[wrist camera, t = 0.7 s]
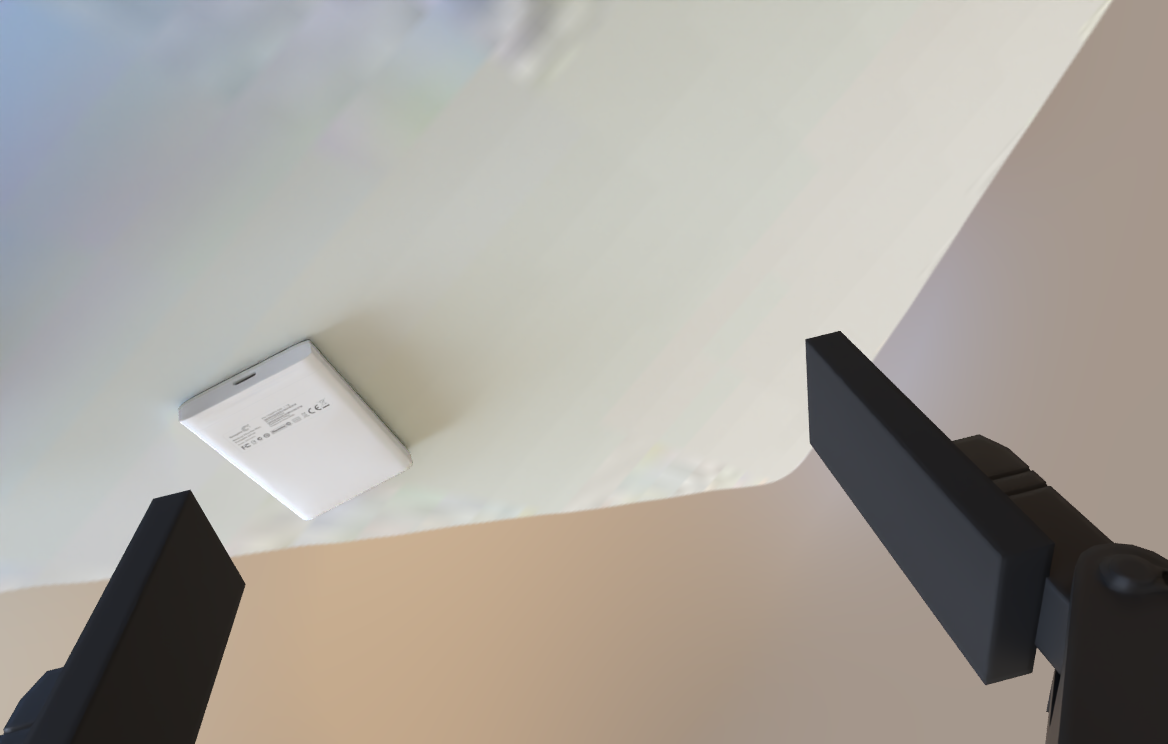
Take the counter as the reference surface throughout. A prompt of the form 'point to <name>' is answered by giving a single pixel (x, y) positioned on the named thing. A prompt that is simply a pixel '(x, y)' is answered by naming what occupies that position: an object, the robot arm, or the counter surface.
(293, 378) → the hard drive
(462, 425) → the counter surface
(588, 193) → the counter surface
